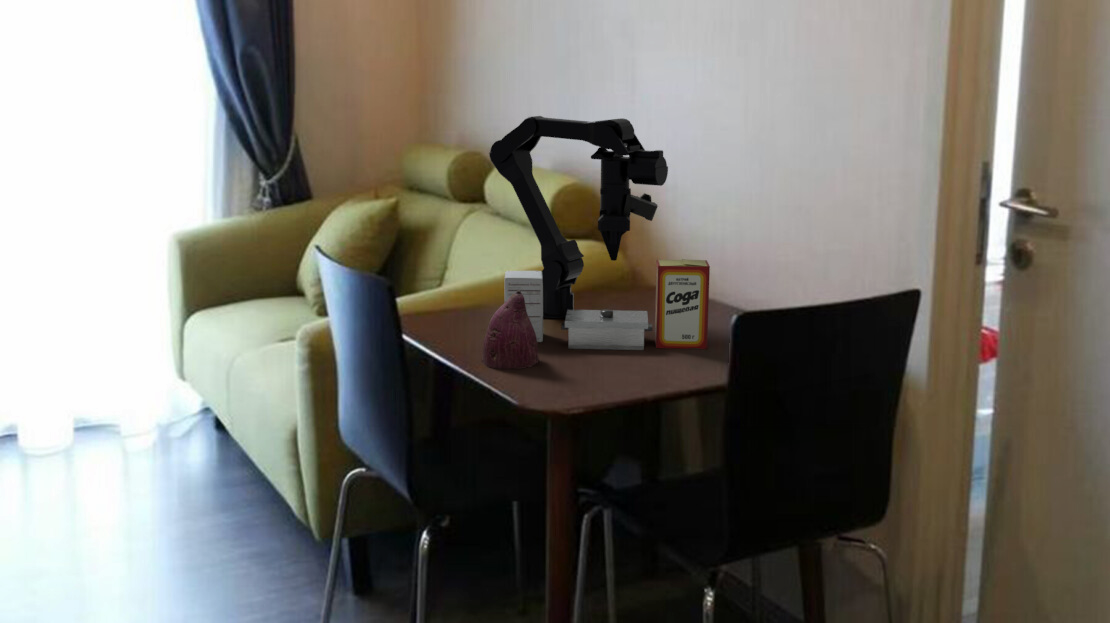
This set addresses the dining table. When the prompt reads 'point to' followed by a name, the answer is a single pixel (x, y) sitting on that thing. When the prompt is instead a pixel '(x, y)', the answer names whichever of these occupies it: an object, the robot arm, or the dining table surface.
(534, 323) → the supplement box
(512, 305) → the vegetable
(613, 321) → the lid
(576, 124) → the robot arm
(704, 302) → the baking soda box
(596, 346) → the white rectangular box
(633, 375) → the dining table surface
